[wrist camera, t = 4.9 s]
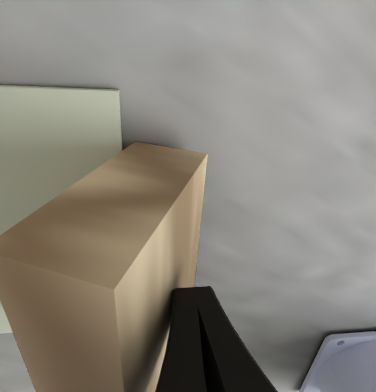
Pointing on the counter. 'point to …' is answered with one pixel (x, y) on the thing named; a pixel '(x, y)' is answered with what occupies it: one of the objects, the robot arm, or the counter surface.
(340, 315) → the counter surface
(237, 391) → the robot arm
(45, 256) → the maple tile
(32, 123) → the sage mat
